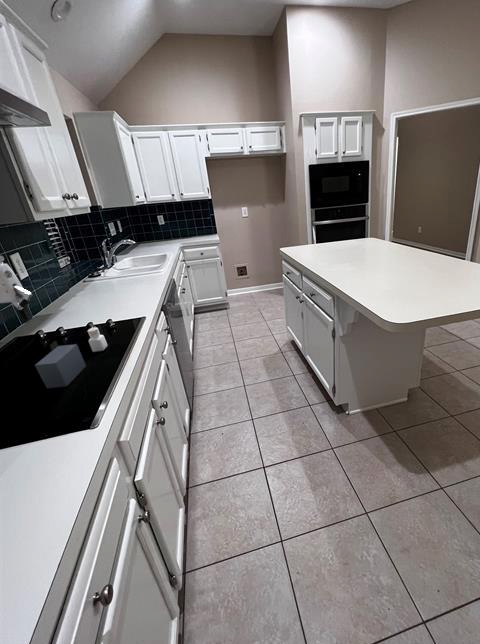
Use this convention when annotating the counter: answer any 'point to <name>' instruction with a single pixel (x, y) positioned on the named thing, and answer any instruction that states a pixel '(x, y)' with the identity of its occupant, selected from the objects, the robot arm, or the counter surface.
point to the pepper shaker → (96, 340)
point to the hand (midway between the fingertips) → (14, 322)
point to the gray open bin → (61, 366)
